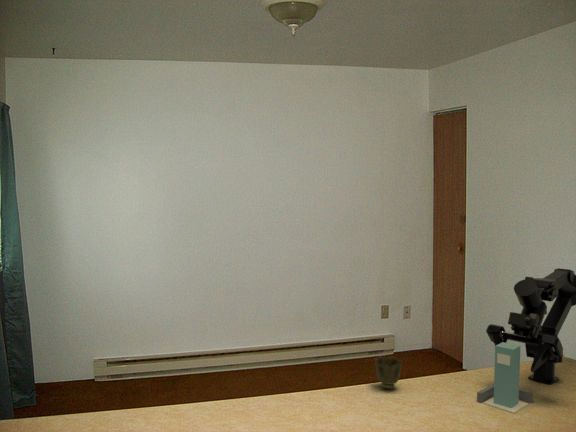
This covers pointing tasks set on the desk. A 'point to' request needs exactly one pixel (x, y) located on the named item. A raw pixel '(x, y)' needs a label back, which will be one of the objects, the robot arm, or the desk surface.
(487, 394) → the corner arena
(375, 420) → the desk surface
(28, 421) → the desk surface
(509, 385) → the teal block
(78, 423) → the desk surface
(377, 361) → the cup
